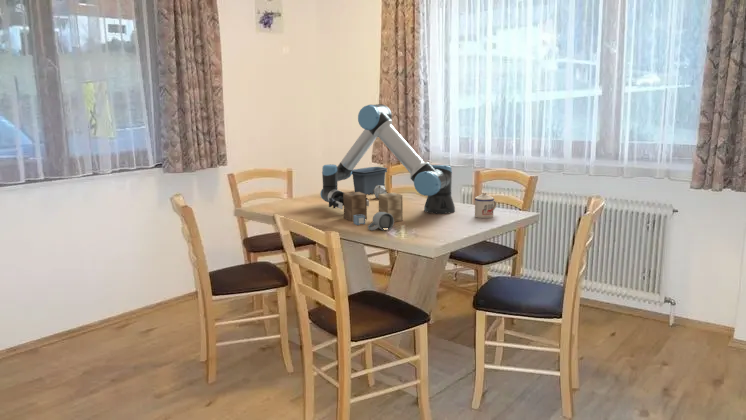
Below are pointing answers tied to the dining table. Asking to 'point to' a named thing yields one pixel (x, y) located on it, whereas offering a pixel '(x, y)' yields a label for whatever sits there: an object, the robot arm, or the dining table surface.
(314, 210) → the dining table surface
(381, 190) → the grey rounded piece
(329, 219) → the dining table surface
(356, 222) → the letter cube
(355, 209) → the walnut cover
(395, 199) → the oak cover
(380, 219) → the ceramic mug
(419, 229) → the dining table surface
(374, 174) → the storage bin
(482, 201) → the teacup with lid
